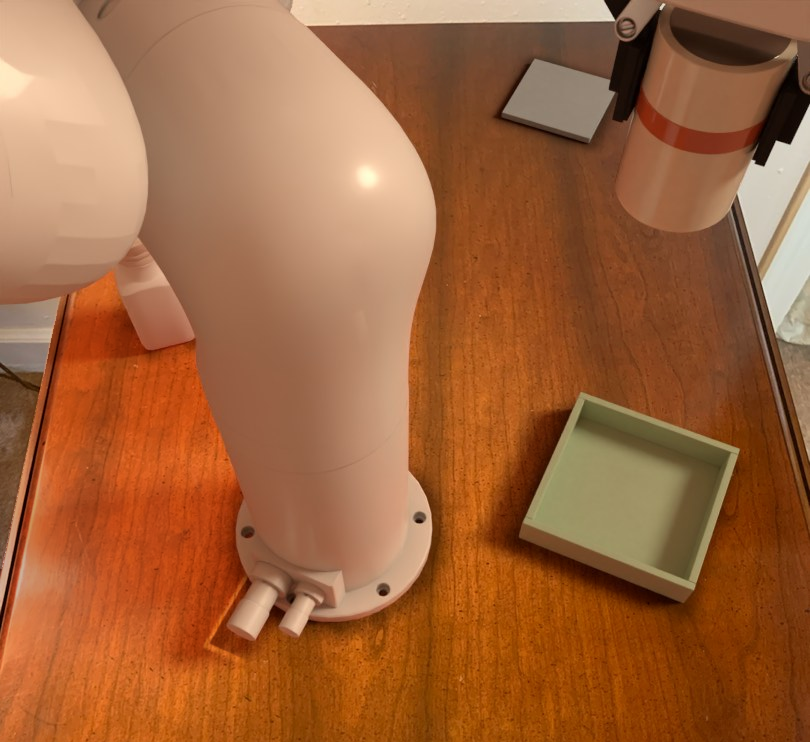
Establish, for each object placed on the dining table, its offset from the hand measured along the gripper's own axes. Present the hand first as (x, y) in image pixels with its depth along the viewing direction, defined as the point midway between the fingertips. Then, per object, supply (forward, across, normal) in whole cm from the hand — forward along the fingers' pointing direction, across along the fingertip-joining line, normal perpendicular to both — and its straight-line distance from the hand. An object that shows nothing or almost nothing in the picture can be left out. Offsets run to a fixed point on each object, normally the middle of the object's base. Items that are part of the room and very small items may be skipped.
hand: (696, 123), depth 41 cm
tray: (+20, +5, -10) cm, 23 cm away
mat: (+20, -14, +25) cm, 35 cm away
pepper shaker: (+20, -31, -11) cm, 38 cm away
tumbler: (+4, 0, 0) cm, 4 cm away
